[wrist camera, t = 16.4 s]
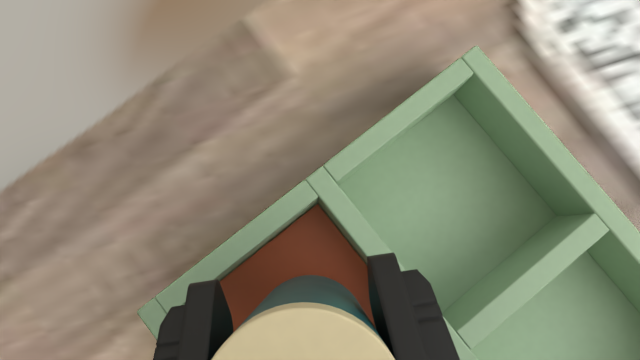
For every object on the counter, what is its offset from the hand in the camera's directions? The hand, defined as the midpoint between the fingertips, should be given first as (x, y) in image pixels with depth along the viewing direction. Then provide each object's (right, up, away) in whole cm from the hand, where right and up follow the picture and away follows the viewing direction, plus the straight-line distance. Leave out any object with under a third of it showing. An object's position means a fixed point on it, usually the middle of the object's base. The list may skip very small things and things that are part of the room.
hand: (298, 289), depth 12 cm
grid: (+5, -3, +6) cm, 9 cm away
